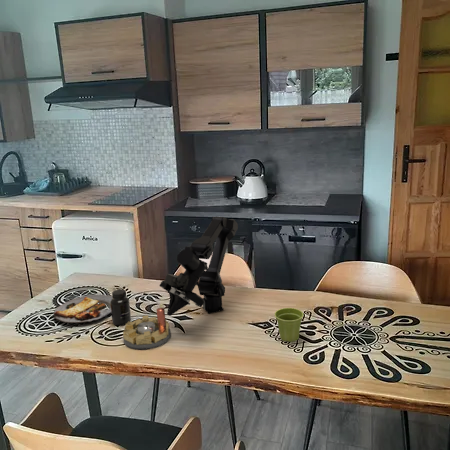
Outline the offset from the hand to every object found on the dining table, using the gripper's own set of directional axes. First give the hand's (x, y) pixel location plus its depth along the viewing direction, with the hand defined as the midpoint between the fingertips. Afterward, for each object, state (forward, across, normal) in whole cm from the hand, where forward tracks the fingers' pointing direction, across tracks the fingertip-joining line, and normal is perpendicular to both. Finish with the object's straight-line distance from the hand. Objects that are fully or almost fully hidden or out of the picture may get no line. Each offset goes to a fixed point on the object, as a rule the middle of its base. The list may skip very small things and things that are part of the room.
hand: (168, 315), depth 153 cm
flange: (+10, -6, +2) cm, 11 cm away
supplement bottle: (+10, -23, +2) cm, 25 cm away
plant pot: (-13, +30, +25) cm, 41 cm away
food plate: (+14, -41, -1) cm, 43 cm away
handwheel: (+9, -6, +1) cm, 10 cm away
